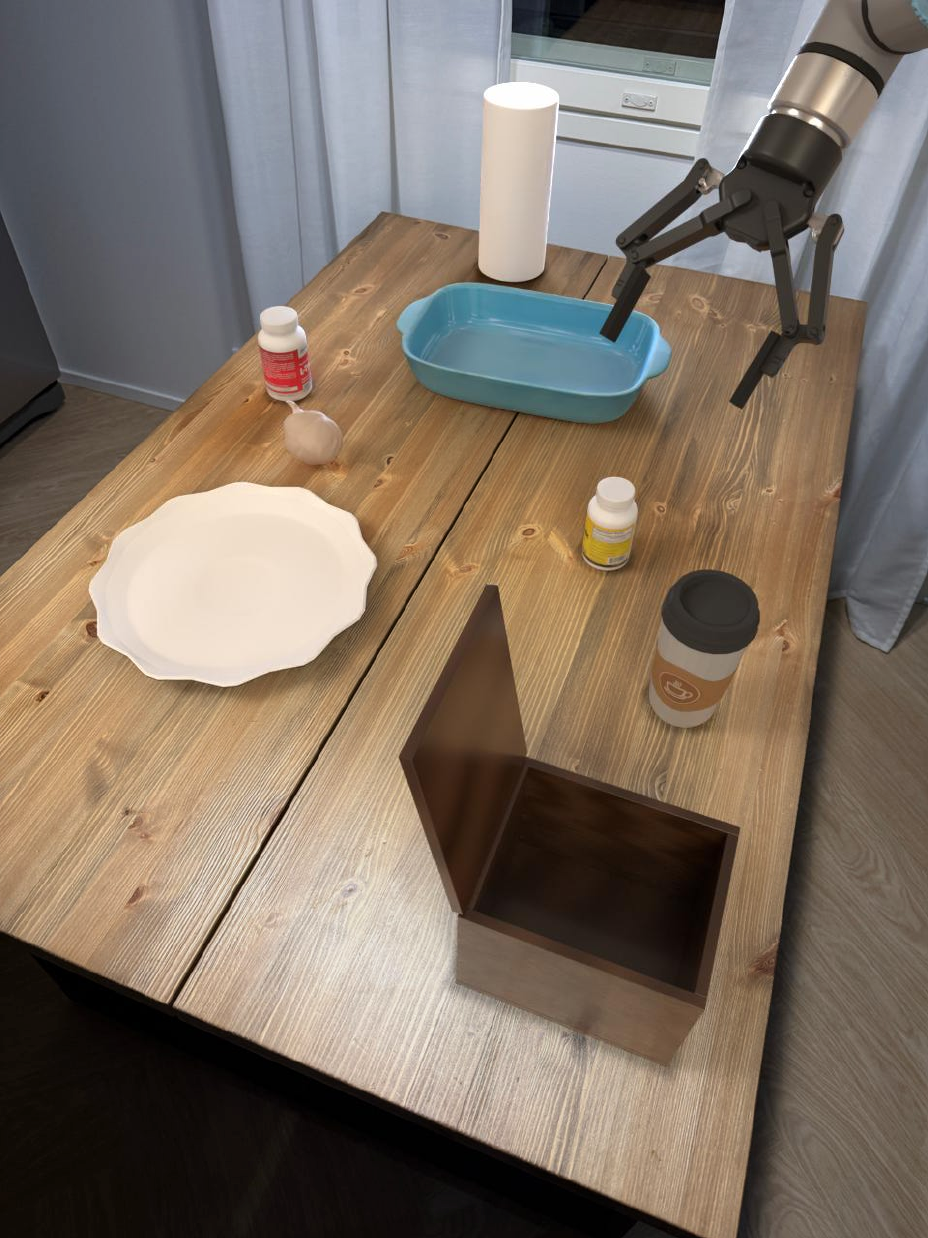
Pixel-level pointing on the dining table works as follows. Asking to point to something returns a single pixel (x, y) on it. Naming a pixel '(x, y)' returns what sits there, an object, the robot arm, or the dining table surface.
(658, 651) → the coffee cup
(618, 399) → the casserole dish
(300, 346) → the pill bottle
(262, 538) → the plate
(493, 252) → the tall pillar cylinder
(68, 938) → the dining table surface
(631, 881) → the chest
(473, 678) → the lid
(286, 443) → the garlic bulb
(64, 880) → the dining table surface
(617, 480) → the supplement bottle
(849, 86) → the robot arm
